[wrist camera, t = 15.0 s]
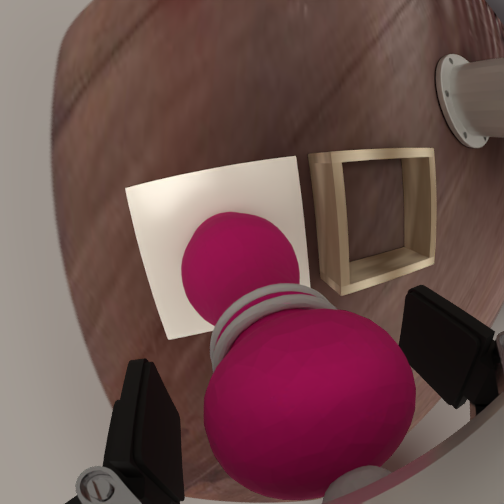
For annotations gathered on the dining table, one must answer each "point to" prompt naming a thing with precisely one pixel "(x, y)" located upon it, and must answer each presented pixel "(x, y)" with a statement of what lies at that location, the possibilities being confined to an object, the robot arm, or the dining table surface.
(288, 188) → the tile
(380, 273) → the holder
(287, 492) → the pepper mill
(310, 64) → the dining table surface
